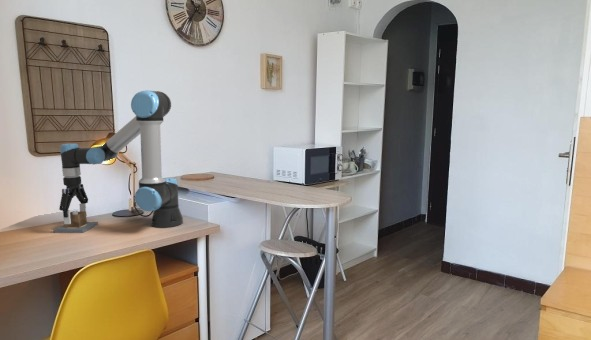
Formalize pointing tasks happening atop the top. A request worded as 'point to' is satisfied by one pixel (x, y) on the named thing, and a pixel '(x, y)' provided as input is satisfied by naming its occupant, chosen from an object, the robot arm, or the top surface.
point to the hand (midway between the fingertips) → (75, 220)
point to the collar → (77, 220)
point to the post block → (76, 230)
